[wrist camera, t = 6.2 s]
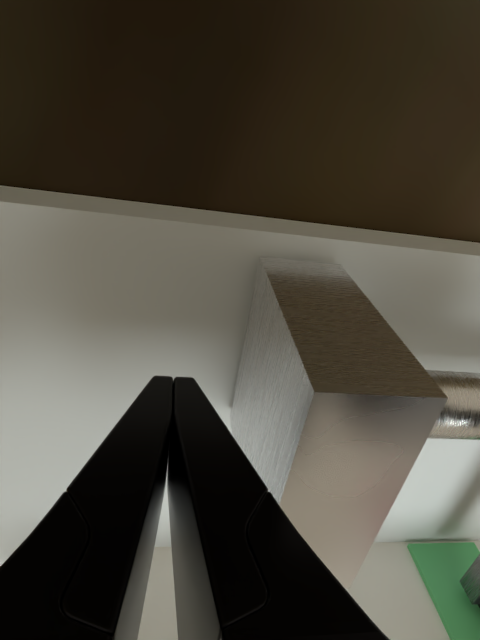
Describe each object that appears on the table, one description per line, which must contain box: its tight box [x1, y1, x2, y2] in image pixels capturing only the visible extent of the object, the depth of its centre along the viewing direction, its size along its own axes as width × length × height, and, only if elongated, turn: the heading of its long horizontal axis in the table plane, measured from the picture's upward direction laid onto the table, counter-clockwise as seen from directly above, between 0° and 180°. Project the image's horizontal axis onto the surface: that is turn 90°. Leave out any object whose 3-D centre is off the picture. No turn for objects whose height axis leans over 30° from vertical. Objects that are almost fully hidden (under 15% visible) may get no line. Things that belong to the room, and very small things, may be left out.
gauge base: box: [0, 185, 480, 640], centre depth 11 cm, size 26×13×8 cm, turn 81°
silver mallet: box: [230, 256, 480, 608], centre depth 11 cm, size 12×11×6 cm
